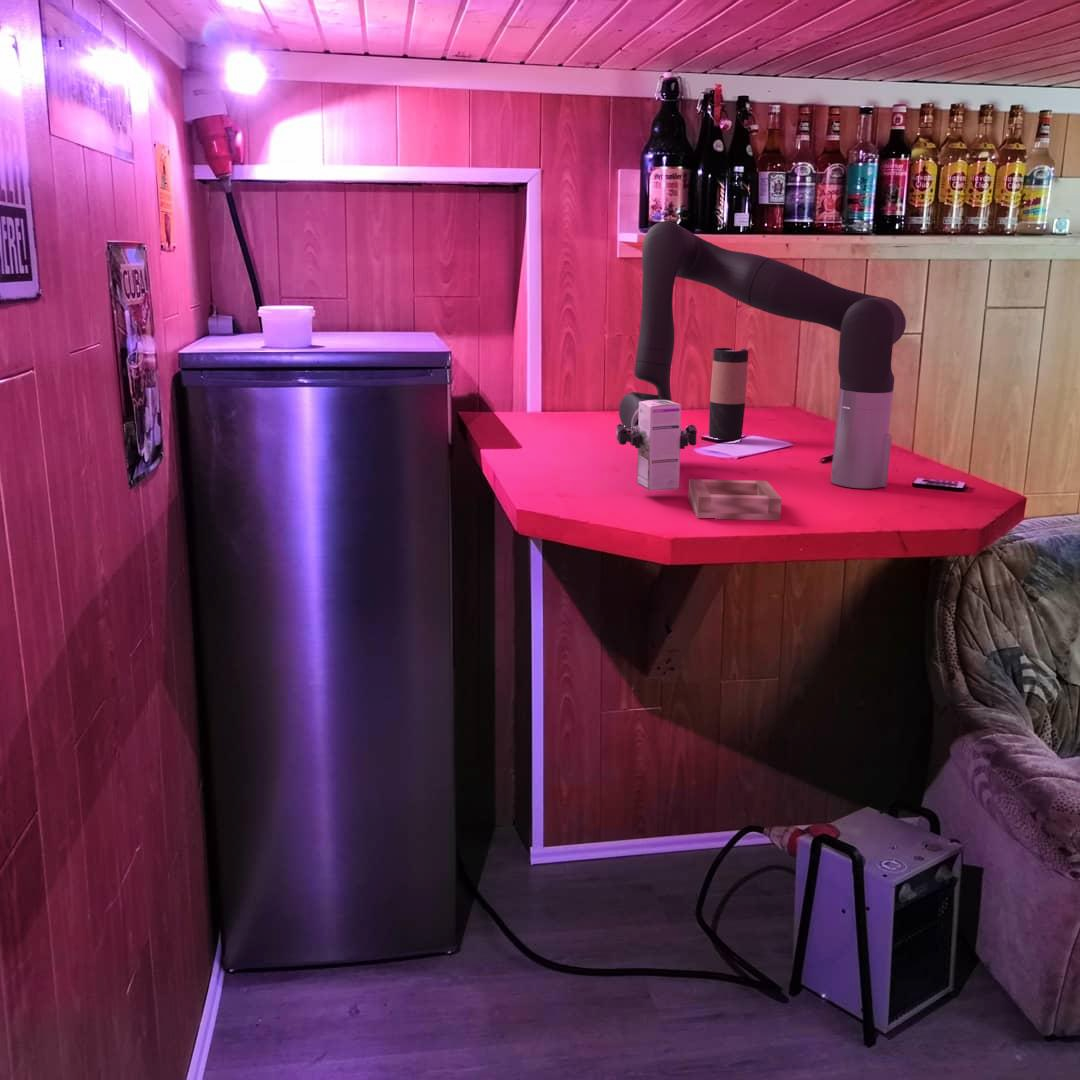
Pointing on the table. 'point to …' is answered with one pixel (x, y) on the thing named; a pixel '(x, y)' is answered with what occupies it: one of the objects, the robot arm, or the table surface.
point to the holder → (734, 499)
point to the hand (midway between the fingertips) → (660, 442)
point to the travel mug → (728, 393)
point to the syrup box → (659, 445)
